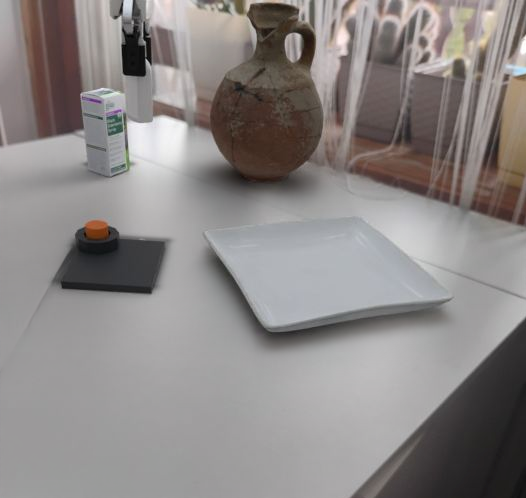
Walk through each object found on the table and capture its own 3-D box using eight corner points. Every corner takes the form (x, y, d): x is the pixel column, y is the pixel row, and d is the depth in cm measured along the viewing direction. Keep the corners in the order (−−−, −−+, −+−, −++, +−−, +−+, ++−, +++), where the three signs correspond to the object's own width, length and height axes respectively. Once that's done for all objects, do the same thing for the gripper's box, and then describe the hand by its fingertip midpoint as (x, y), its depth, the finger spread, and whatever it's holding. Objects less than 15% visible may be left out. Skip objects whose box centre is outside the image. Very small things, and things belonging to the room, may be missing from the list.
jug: (187, 167, 126) (187, -3, 109) (266, 150, 138) (277, -5, 121) (259, 202, 113) (272, 17, 96) (339, 180, 126) (363, 12, 109)
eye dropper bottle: (121, 122, 92) (117, 32, 85) (128, 112, 97) (124, 26, 90) (151, 125, 92) (149, 35, 85) (156, 114, 97) (155, 28, 90)
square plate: (199, 251, 96) (200, 227, 94) (357, 234, 105) (361, 212, 103) (263, 350, 76) (265, 323, 73) (451, 318, 85) (459, 294, 82)
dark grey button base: (57, 288, 84) (54, 268, 82) (83, 241, 96) (81, 223, 94) (151, 294, 84) (150, 274, 83) (165, 246, 96) (165, 228, 95)
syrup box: (110, 177, 118) (104, 97, 110) (86, 170, 121) (79, 91, 112) (130, 170, 122) (126, 92, 114) (107, 163, 125) (101, 86, 116)
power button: (83, 239, 91) (82, 228, 90) (88, 230, 93) (87, 219, 92) (106, 241, 91) (105, 229, 90) (110, 231, 93) (109, 220, 92)
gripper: (114, -84, 87) (121, 57, 97) (88, -83, 73) (99, 82, 83) (168, -80, 87) (170, 61, 98) (153, -77, 73) (156, 86, 84)
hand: (137, 69), depth 90 cm, fingers closed on eye dropper bottle, 5 cm apart
